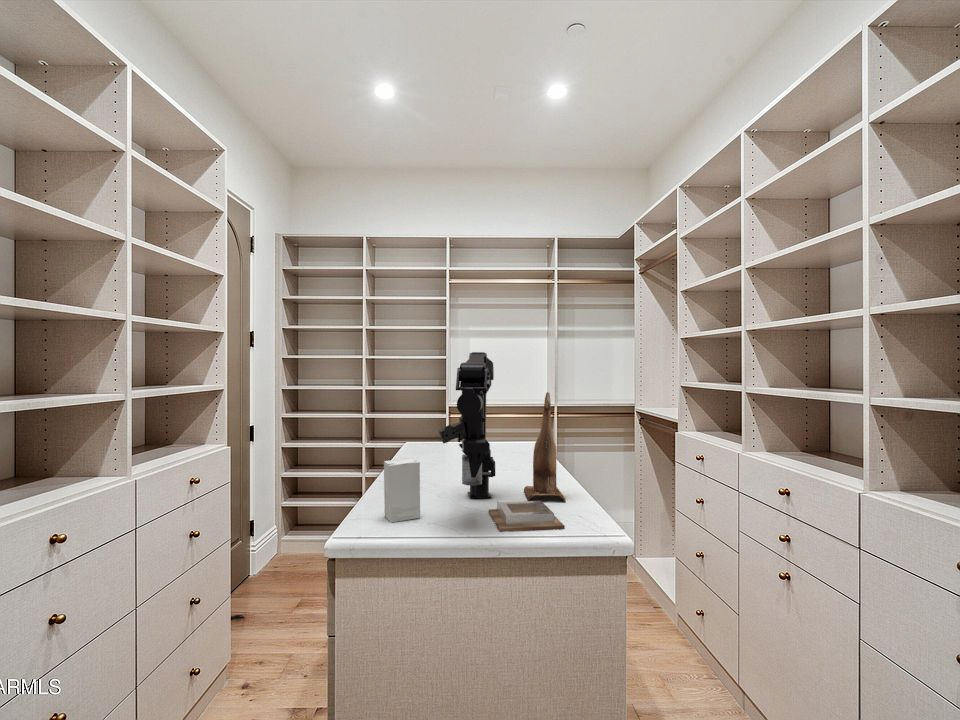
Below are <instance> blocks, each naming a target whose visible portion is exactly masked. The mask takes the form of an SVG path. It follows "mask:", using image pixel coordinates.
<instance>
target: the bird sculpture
mask: <svg viewBox="0 0 960 720" xmlns="http://www.w3.org/2000/svg"><path fill="white" fill-rule="evenodd" d="M551 403H552V402H551V394H550V393H549V392H548V391H547V392H546V393H545V396H544V404H543V412H542V420H541V426H540V427H541V428H540V432H539V434H538V437H537V438H536V441H535V443H534V447H533V457H532V460H533V461H532V477H533V478H532V484H533V485H526V486H524V489H523V494H524V493H525V494H524V496H525V498H526V501H531V499H532V498H533V497H535V496H558V497H560V498H561V499H562V500H563V501H564V502H565V503H566V502H567V500H566V497H565V496H564V494H563V493H562V492H561V491H560V489H559V488H558V487H557V446H556V443H555V438H554V434H553V430H552V415H551V414H552V413H551V408H552V407H551V406H552V404H551Z"/></svg>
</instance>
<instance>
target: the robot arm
mask: <svg viewBox="0 0 960 720" xmlns="http://www.w3.org/2000/svg"><path fill="white" fill-rule="evenodd" d="M494 371H495V369H494V362H493V361H492V360H491V359H490V358H489V357H488V354H487V352H484V351H481V352H479V351H477V352H476V351H474V352H473V351H472V352H469V356H468V359H467V360H466V362H461V363H460V365H459V367H457V371H456V379H455V380H456V382H455V391H461V394H460V396H459V397H458V399H457V401H456V408H457V409H456V410H458V412H459V414H461V415H460V417H459V418H458V422H456V423H451V424H448V425H444V426H443V427H442V428H439V429H438V433H439V437H440V439H441V441H442V444H447V443H449V442H450V441H453V440H456V441H457V443H458V446H459V447H460V449H461V451H462V453H463V454H465V455H466V456H467V457H468V461H469V467H470V473H471V477H472V478H474V477H476V475H477V473H478V471H479V468H480V466H481V464H482V484H480V485H474V486H470V485H469V491H467V496H468V498H469V499H491V498H492V495H491V493H490V492H489V491H490V484H489V483H490V480H489V479H490V478H494V477H496V461H495V459H494V457H493V456H492V451H491V443H490V442H489V441H488V440H487V394H488V392H489V390H490V388H491V387H492V381H493V380H494V378H495V373H494Z"/></svg>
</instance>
